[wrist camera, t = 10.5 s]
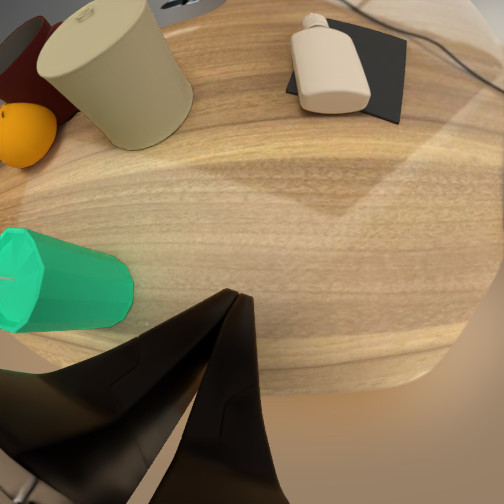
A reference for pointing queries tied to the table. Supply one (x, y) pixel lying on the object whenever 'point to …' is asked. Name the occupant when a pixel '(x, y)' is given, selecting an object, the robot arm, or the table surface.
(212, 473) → the robot arm
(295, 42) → the eye dropper bottle
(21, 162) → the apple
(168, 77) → the can
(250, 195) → the table surface
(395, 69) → the felt mat
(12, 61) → the mug
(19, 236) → the candle
